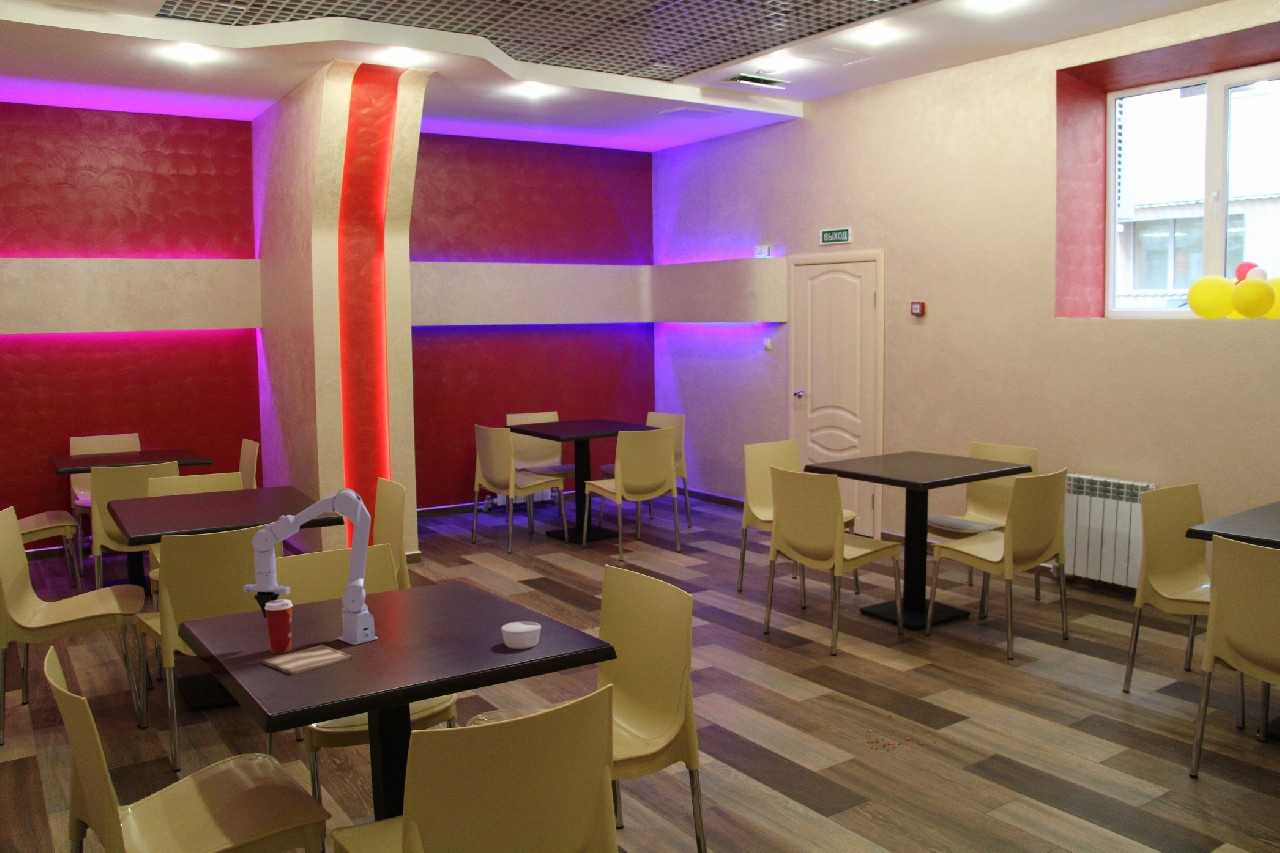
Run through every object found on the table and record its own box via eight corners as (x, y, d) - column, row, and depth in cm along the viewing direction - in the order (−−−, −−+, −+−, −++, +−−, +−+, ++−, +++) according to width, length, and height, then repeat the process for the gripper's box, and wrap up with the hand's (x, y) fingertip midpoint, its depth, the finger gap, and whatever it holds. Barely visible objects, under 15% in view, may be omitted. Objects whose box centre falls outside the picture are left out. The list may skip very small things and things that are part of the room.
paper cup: (300, 649, 299) (297, 601, 297) (275, 656, 293) (272, 607, 292) (286, 644, 304) (283, 597, 303) (261, 651, 298) (258, 602, 297)
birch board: (352, 658, 289) (351, 655, 289) (291, 675, 276) (291, 671, 276) (322, 647, 300) (322, 644, 300) (262, 662, 287) (262, 659, 287)
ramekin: (547, 639, 303) (546, 622, 303) (533, 651, 292) (532, 632, 292) (511, 637, 306) (510, 620, 306) (495, 649, 295) (495, 630, 295)
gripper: (295, 569, 303) (298, 615, 304) (253, 567, 307) (256, 612, 308) (280, 574, 296) (282, 621, 297) (237, 572, 300) (240, 618, 302)
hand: (268, 617), depth 302 cm, fingers closed
